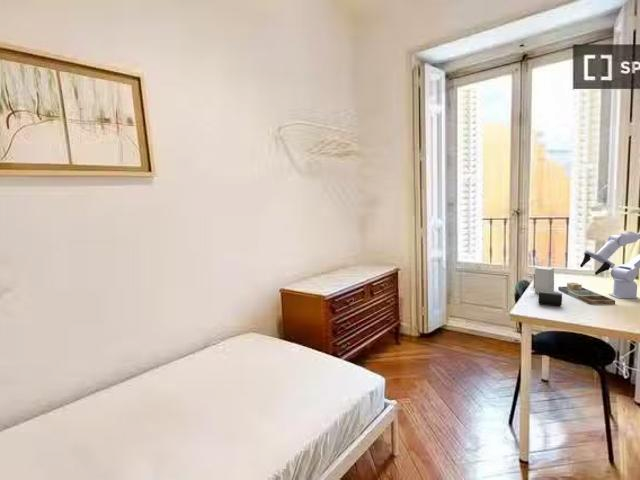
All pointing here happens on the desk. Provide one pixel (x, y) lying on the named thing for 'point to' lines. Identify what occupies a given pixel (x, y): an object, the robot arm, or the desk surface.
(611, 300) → the walnut tray
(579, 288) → the maple letter cube
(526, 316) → the desk surface
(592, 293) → the sage tray
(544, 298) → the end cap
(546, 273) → the skincare box
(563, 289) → the charcoal tray
